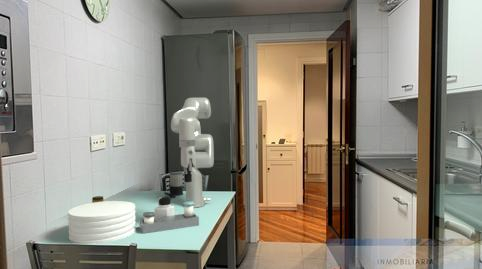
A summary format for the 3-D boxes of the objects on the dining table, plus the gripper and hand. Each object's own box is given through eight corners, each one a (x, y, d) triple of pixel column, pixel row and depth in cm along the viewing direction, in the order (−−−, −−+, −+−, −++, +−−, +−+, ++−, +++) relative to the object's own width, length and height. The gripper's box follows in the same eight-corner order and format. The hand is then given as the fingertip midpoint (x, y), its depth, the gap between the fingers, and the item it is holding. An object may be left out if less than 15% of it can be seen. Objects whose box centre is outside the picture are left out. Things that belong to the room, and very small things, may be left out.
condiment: (88, 220, 176) (88, 197, 176) (104, 216, 183) (103, 194, 182) (95, 223, 172) (95, 199, 171) (111, 219, 178) (111, 196, 178)
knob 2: (192, 214, 171) (192, 200, 171) (195, 217, 166) (195, 202, 166) (182, 216, 169) (182, 201, 169) (185, 218, 164) (185, 204, 164)
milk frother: (181, 192, 242) (181, 171, 242) (187, 197, 228) (186, 174, 227) (161, 194, 237) (160, 173, 236) (165, 199, 222) (165, 176, 222)
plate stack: (83, 225, 170) (82, 201, 169) (141, 222, 172) (140, 199, 171) (57, 245, 142) (56, 217, 141) (127, 242, 144) (126, 215, 143)
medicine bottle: (174, 219, 175) (174, 196, 175) (167, 223, 169) (166, 199, 168) (162, 218, 178) (161, 195, 177) (154, 222, 171) (154, 198, 170)
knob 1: (153, 226, 163) (153, 211, 163) (156, 229, 158) (155, 213, 158) (142, 227, 161) (142, 212, 161) (144, 230, 156) (144, 215, 156)
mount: (193, 220, 173) (193, 212, 173) (199, 225, 165) (198, 217, 165) (139, 228, 162) (139, 219, 162) (143, 233, 154) (142, 224, 154)
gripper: (199, 144, 161) (200, 183, 162) (190, 142, 174) (191, 179, 175) (183, 144, 158) (184, 185, 158) (175, 143, 171) (176, 180, 172)
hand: (188, 181), depth 167 cm, fingers closed
